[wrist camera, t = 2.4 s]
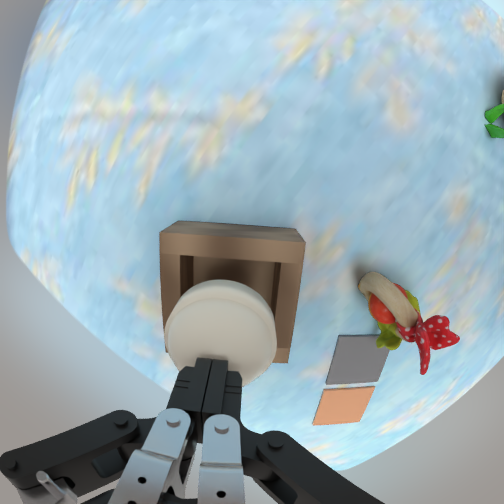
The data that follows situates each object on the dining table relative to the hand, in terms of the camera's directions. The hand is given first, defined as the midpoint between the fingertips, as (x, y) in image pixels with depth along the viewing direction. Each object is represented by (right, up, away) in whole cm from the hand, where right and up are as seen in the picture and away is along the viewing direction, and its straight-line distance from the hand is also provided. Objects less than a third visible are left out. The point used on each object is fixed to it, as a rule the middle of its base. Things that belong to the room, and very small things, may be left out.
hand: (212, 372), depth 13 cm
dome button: (0, +2, +7) cm, 7 cm away
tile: (+13, -13, +17) cm, 25 cm away
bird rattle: (+14, +1, +13) cm, 19 cm away
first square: (+14, -6, +15) cm, 21 cm away
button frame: (0, +3, +12) cm, 13 cm away
